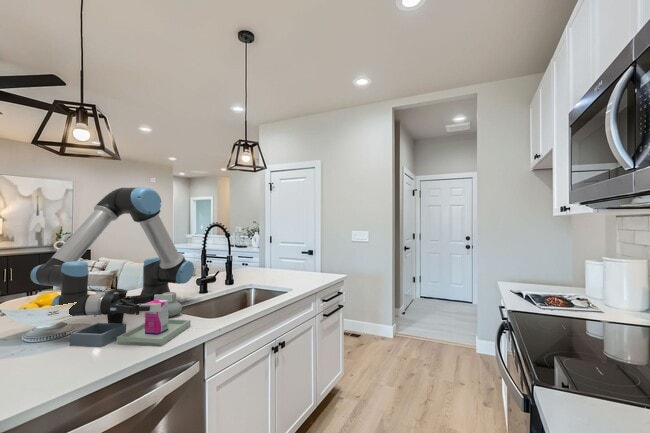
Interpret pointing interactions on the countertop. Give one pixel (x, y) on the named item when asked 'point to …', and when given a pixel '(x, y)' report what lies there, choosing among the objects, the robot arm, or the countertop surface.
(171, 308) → the grey knobbed rounded piece
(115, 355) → the countertop surface
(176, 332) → the tray
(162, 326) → the supplement box
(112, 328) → the grey storage bin
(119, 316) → the drinking cup
